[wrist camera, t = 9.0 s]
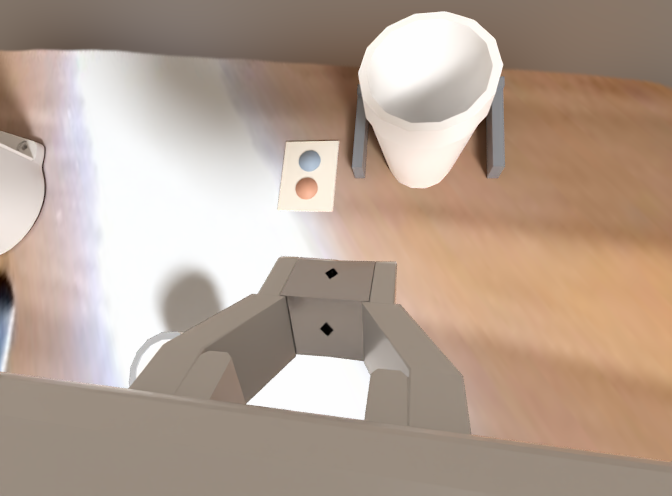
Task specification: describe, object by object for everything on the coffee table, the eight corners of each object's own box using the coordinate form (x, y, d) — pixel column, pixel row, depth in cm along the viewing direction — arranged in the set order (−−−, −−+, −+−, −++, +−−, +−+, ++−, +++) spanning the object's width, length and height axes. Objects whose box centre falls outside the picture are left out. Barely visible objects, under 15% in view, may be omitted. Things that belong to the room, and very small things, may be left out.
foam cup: (423, 221, 35) (434, 158, 22) (355, 167, 37) (331, 84, 25) (488, 152, 35) (533, 52, 23) (416, 103, 38) (421, -10, 25)
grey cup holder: (497, 178, 34) (506, 163, 31) (355, 178, 37) (351, 164, 34) (496, 96, 36) (504, 76, 33) (361, 102, 39) (357, 84, 36)
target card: (333, 211, 37) (332, 210, 36) (278, 210, 38) (276, 209, 37) (339, 142, 38) (338, 139, 38) (287, 143, 40) (285, 140, 39)
